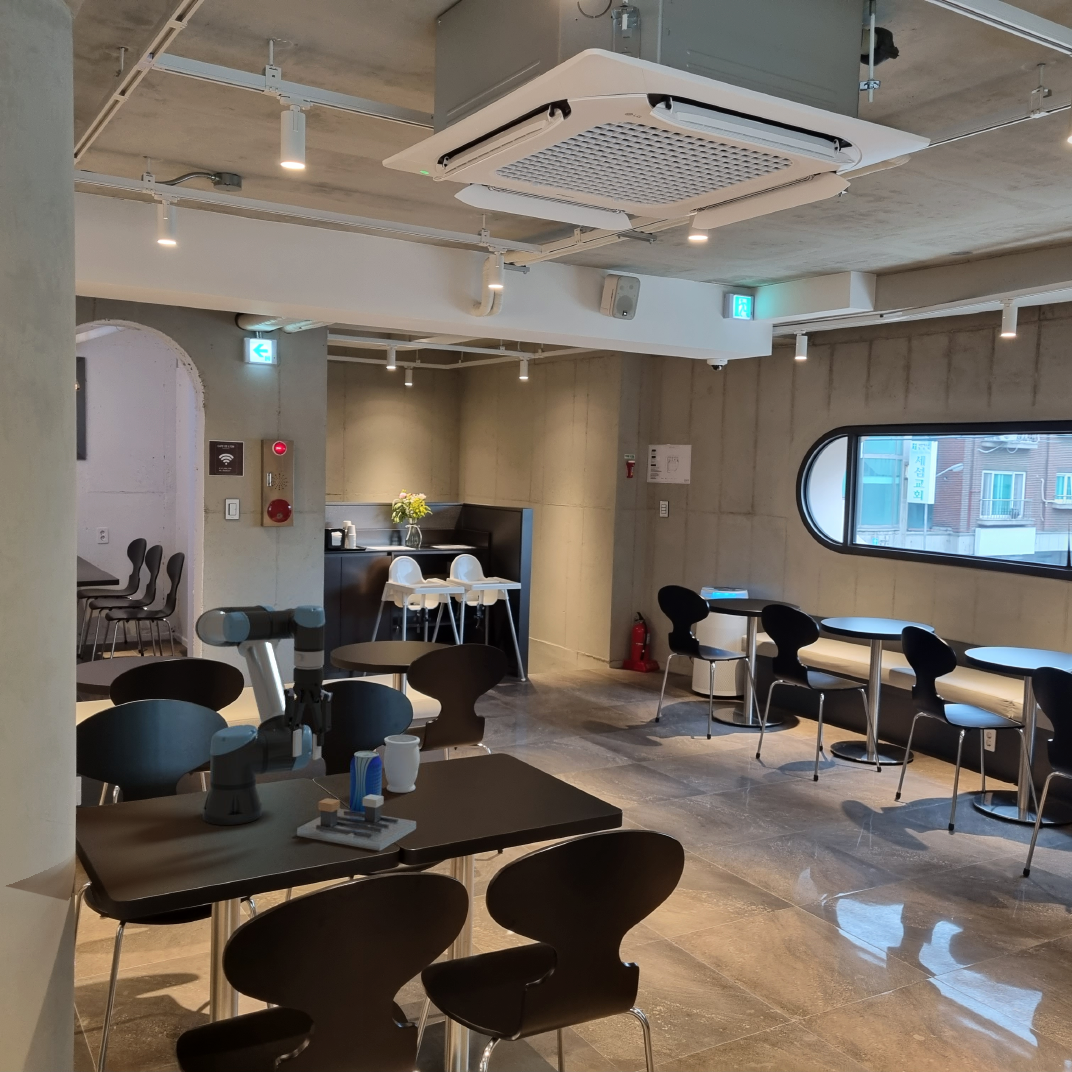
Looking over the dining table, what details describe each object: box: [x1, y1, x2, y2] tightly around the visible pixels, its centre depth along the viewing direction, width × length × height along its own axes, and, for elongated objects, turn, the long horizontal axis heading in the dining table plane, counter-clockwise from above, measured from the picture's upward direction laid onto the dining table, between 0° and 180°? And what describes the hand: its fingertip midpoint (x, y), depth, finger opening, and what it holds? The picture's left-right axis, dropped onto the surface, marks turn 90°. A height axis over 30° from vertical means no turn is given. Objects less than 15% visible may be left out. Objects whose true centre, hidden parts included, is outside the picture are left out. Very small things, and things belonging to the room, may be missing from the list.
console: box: [296, 808, 417, 852], centre depth 257 cm, size 24×18×3 cm
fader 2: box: [363, 794, 385, 822], centre depth 259 cm, size 4×4×6 cm
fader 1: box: [318, 797, 341, 827], centre depth 255 cm, size 4×4×6 cm
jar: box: [383, 734, 421, 794], centre depth 295 cm, size 11×10×15 cm
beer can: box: [349, 750, 383, 813], centre depth 273 cm, size 8×8×16 cm
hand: (306, 756), depth 257 cm, fingers open, 5 cm apart
